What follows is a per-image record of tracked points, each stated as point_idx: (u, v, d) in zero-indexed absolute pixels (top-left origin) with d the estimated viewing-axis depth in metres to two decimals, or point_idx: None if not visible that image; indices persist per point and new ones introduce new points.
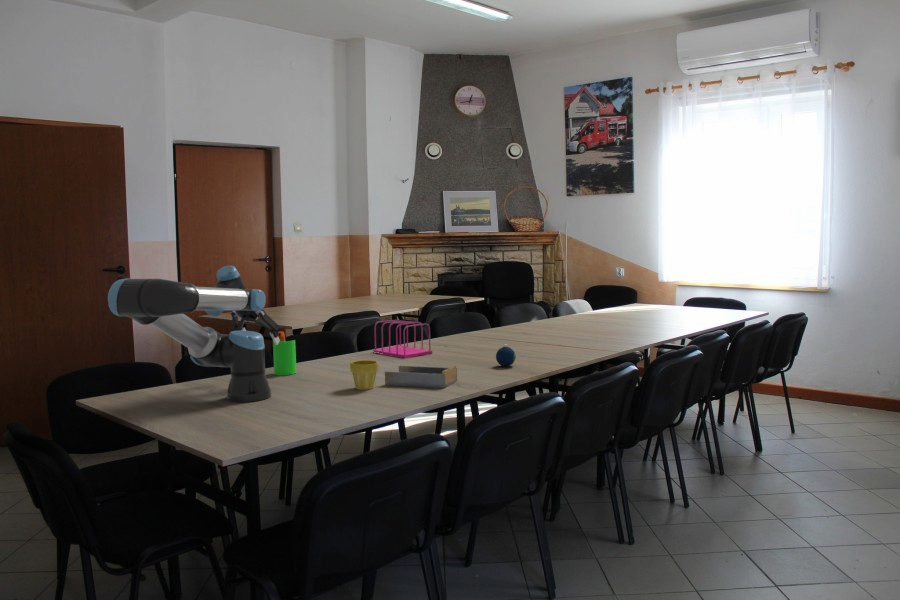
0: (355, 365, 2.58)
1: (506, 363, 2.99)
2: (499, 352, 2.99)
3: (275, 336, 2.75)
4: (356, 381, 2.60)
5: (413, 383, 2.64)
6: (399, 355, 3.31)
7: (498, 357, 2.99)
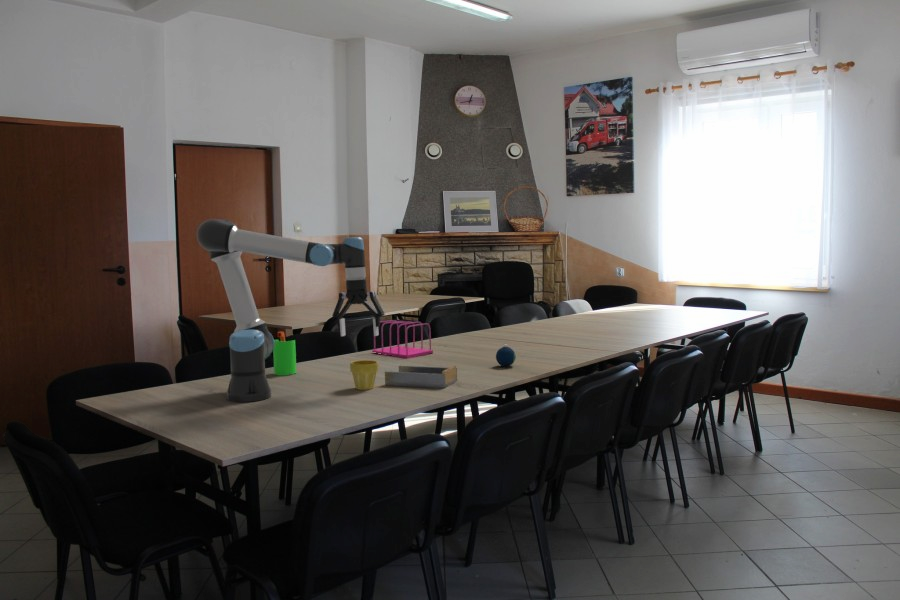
0: (355, 365, 2.58)
1: (506, 363, 2.99)
2: (499, 352, 2.99)
3: (377, 325, 2.60)
4: (356, 381, 2.60)
5: (413, 383, 2.64)
6: (401, 355, 3.31)
7: (498, 357, 2.99)
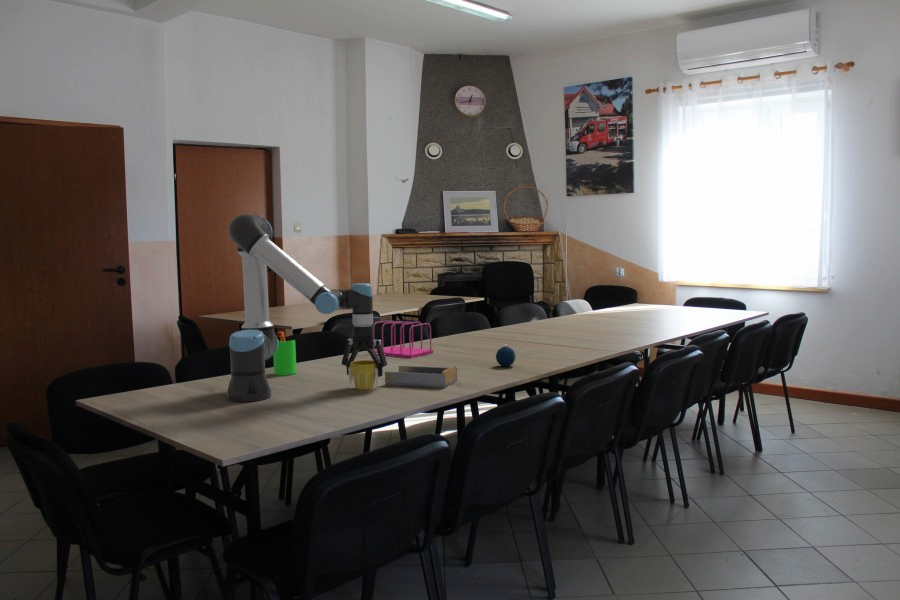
0: (355, 365, 2.58)
1: (506, 363, 2.99)
2: (499, 352, 2.99)
3: (379, 375, 2.59)
4: (356, 381, 2.60)
5: (413, 383, 2.64)
6: (404, 355, 3.30)
7: (498, 357, 2.99)
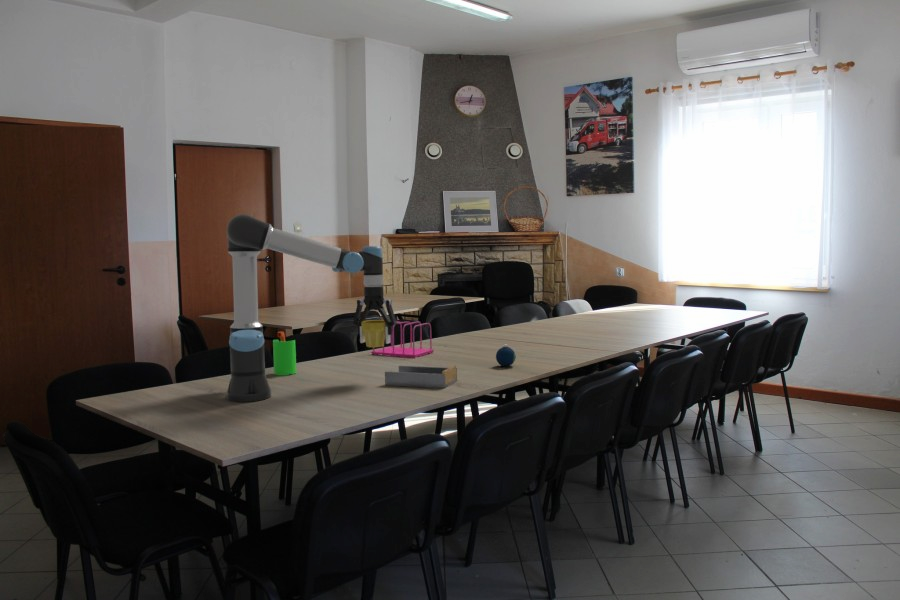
0: (366, 323, 2.70)
1: (506, 363, 2.99)
2: (499, 352, 2.99)
3: (389, 333, 2.72)
4: (367, 339, 2.72)
5: (413, 383, 2.64)
6: (407, 355, 3.30)
7: (498, 357, 2.99)
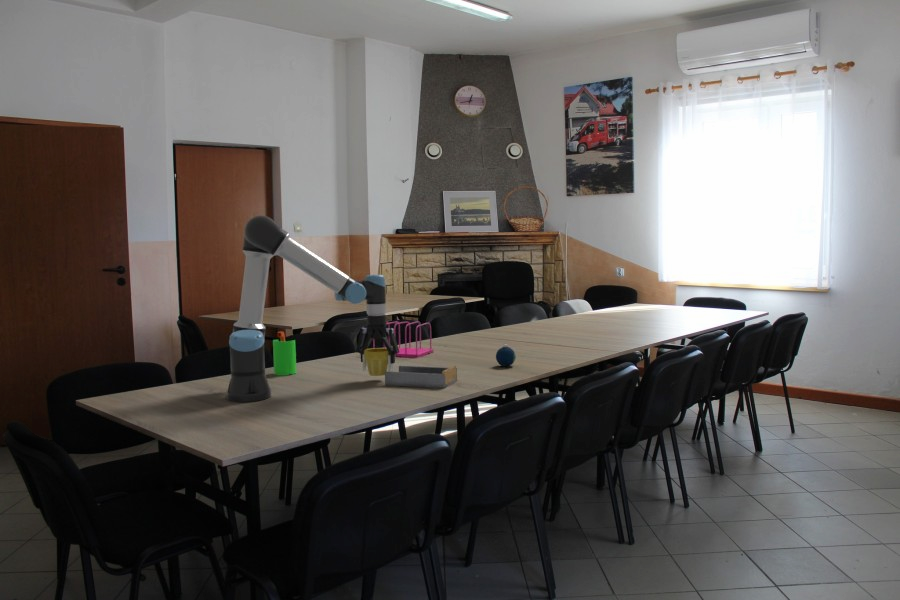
0: (369, 352, 2.71)
1: (506, 363, 2.99)
2: (499, 352, 2.99)
3: (392, 361, 2.73)
4: (370, 368, 2.73)
5: (413, 383, 2.64)
6: (410, 355, 3.30)
7: (498, 357, 2.99)
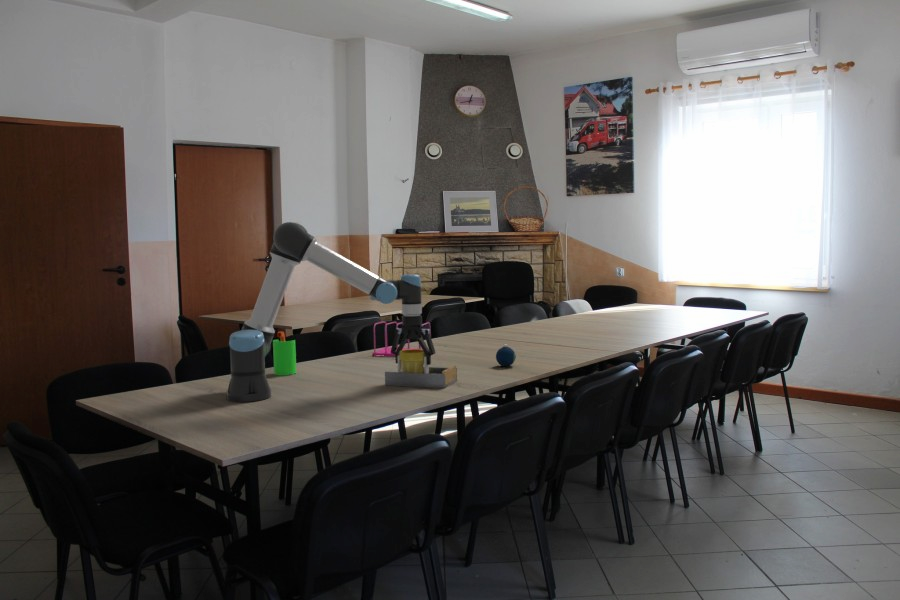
0: (405, 353, 2.66)
1: (506, 363, 2.99)
2: (499, 352, 2.99)
3: (428, 363, 2.68)
4: (405, 369, 2.68)
5: (413, 383, 2.64)
6: None
7: (498, 357, 2.99)
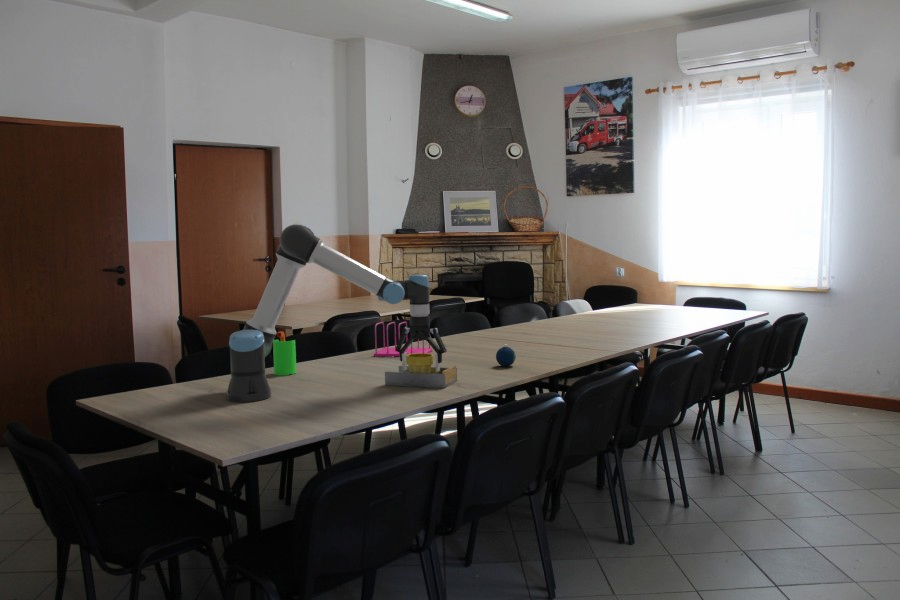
0: (412, 358, 2.65)
1: (506, 363, 2.99)
2: (499, 352, 2.99)
3: (439, 361, 2.66)
4: None
5: (413, 383, 2.64)
6: None
7: (498, 357, 2.99)
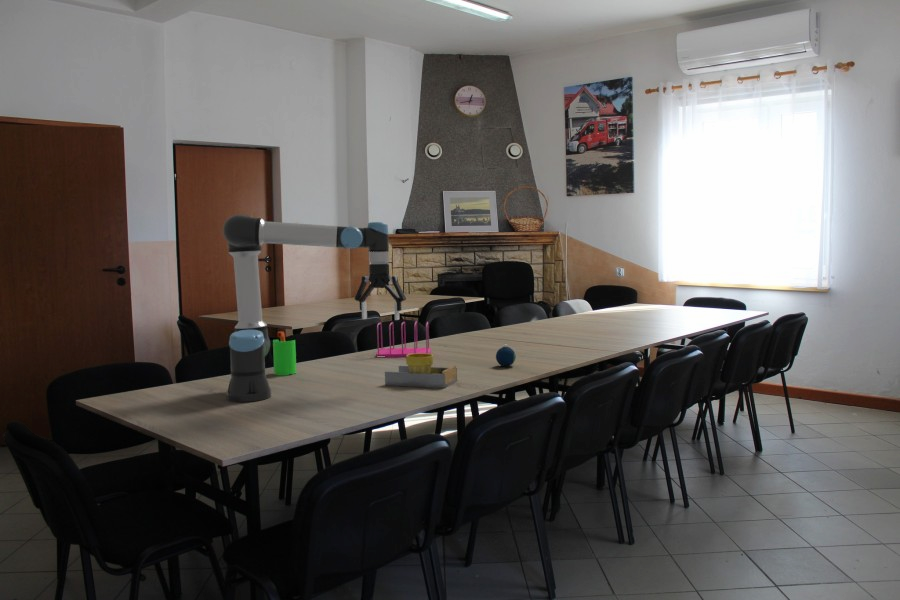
0: (412, 358, 2.65)
1: (506, 363, 2.99)
2: (499, 352, 2.99)
3: (398, 309, 2.65)
4: None
5: (413, 383, 2.64)
6: None
7: (498, 357, 2.99)
